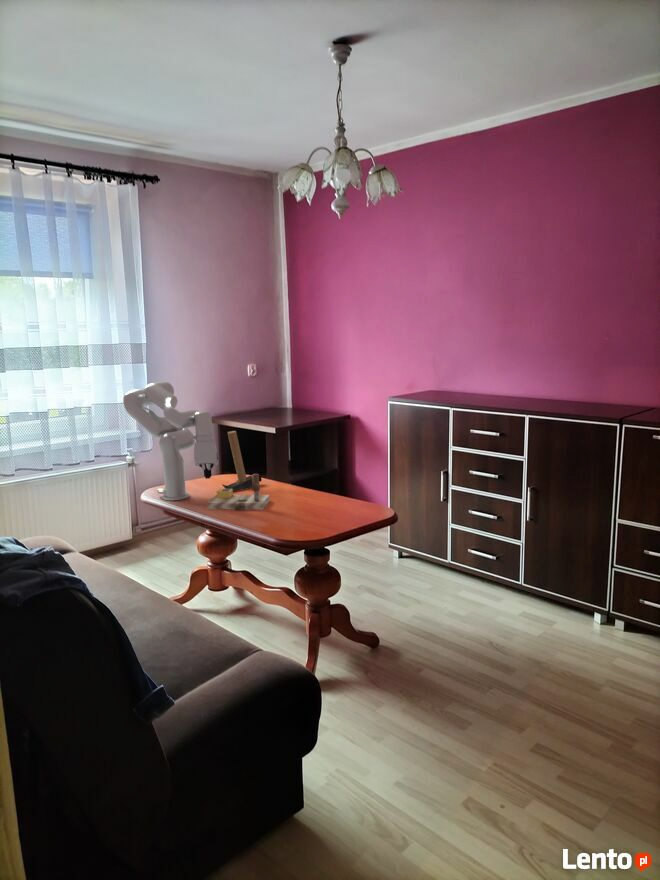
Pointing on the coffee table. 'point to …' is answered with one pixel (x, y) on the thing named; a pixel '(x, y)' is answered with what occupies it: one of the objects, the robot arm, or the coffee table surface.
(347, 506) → the coffee table surface
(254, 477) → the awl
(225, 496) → the block
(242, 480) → the hammer
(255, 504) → the board
